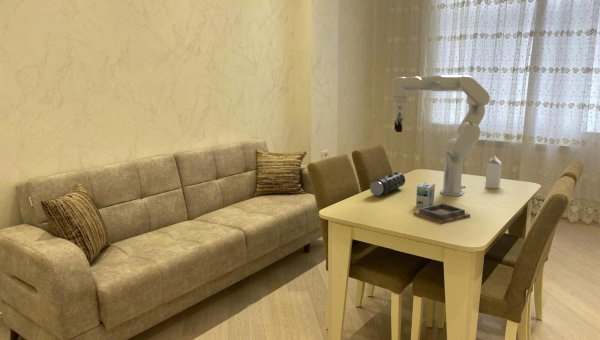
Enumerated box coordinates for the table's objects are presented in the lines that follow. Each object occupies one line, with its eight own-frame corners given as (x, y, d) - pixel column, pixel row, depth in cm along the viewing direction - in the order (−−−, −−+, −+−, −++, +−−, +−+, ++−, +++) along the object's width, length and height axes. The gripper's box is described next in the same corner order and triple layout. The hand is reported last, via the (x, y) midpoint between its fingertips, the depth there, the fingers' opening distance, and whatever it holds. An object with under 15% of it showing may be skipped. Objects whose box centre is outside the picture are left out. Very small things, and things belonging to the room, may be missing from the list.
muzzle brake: (405, 189, 261) (406, 172, 259) (383, 199, 240) (384, 181, 237) (390, 187, 267) (391, 170, 265) (368, 197, 245) (368, 179, 243)
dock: (441, 208, 222) (442, 201, 222) (470, 217, 208) (470, 210, 207) (413, 214, 212) (413, 208, 212) (441, 224, 198) (441, 217, 197)
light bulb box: (428, 208, 223) (429, 187, 221) (415, 206, 227) (416, 186, 224) (434, 203, 232) (435, 183, 230) (421, 201, 236) (422, 182, 233)
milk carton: (499, 186, 266) (502, 155, 263) (497, 189, 261) (500, 157, 257) (487, 185, 270) (489, 154, 266) (485, 187, 264) (487, 156, 260)
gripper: (408, 100, 232) (406, 132, 235) (404, 99, 249) (403, 129, 252) (393, 100, 233) (392, 132, 236) (391, 99, 249) (390, 129, 253)
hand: (398, 130), depth 244 cm, fingers open, 9 cm apart
